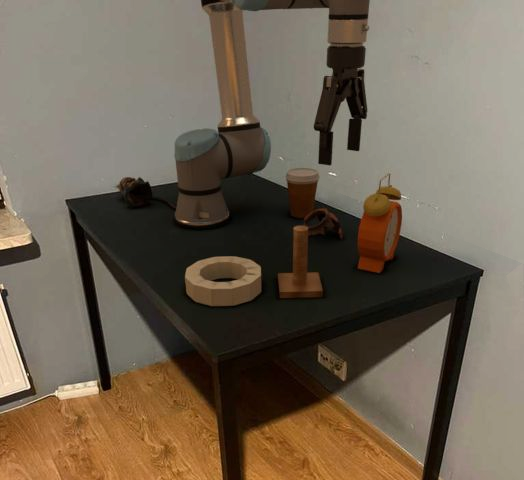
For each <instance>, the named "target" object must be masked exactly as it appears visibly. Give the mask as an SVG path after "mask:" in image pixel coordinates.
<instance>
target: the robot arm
mask: <svg viewBox="0 0 524 480" xmlns="http://www.w3.org/2000/svg"><path fill="white" fill-rule="evenodd" d="M370 1H371V0H200V4H201V10H202V11H203V12H204V13H205V14H207V16H208V21H209V27H210V28H209V29H210V35H211V43H212V50H213V58H214V59H213V60H214V65H215V66H214V67H215V74H216V81H217V82H216V83H217V89H218V98H219V106H220V113H221V114H220V115H221V120H220V121H219V123H218V124H217V127H216V128H217V130H216V129H214V128H201V129H200V128H199V129H197V128H196V129H193V130H188V131H186V132H184V133H181V134H180V135H178V136H177V138H176V139H175V141H174V159H175V168H176V178H177V179H176V180H177V186H178V197H177V202H176V205H174V204H173V203H172V202H170V200H168V199H166V198H163V197H160V196H159V197H158V196H152V198H151V199H150V200H157V201H161V202H164V203H166V204H167V205H168V206H170V208H172V209H174V210H175V212H174V222H175V224H176V225H177V226H179V227H182V228H185V229H190V230H207V229H214V228H218V227H220V226H223V225H225V224H227V223H228V222H229V221H230V211H229V208H228V206H227V203H226V200H225V198H224V194H223V192H222V180H224V179H229V178H235V177H240V176H244V175H253V174H255V173H258V172H261V171H263V170H264V169H265V168H266V167H267V165H268V163H269V161H270V158H271V154H272V142H271V138H270V137H271V136H269V132H268V131H267V130H266V129H265V128H264V127H261V121H260V120H259V118H257V117H256V115H255V114H254V105H253V98H252V97H253V95H252V87H251V78H250V70H249V69H250V68H249V67H250V66H249V58H248V51H247V48H248V47H247V39H246V29H245V21H244V11H248V12H259V11H268V10H269V11H270V10H304V9H311V10H312V9H328V24H327V41H326V42H327V43H328V44H329V46H328V47H327V48H326V63H325V65H326V67H327V68H329V69H332V72H331V75H324V77H323V79H322V90H321V94H320V98H319V102H318V106H317V110H316V113H315V114H316V115H315V119H314V123H313V130H314V131H315V132H319V137H318V161H317V163H318V165H323V166H329V167H330V166H332V164H333V148H334V147H333V145H334V131H333V130H332V128H333V126H334V123H335V121H336V118H337V115H338V113H339V110H340V107H341V104H342V103H343V102H344V101H346V104H347V107H348V110H349V112H350V116H351V118H349V119H348V131H347V144H346V151H353V152H360V149H361V148H360V147H361V136H362V135H361V134H362V123H363V120H366V119H367V118H368V117H367V116H368V103H367V102H368V101H367V93H366V86H365V85H366V84H365V69H364V67H365V64H366V53H367V52H366V51H367V48H366V46H365V45H364V44H365V43H366V42H367V37H368V36H367V35H368V31H369V30H370V26H369V12H370V3H371V2H370ZM118 185H119V183H118V184H117V186H118Z"/></svg>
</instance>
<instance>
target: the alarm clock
mask: <svg viewBox="0 0 524 480" xmlns="http://www.w3.org/2000/svg"><path fill="white" fill-rule="evenodd" d="M387 177H388V181H387V182H388V183H387V186H382V185H381V184H382V181H383V180H385V178H387ZM390 183H391V173H386V175H385V176H383V177H382V178H380V180H379V183H378V189H377V190H376V192H375V193H373V194H370V195H369V196H368V197H366V199H365V200H364V202H363V206H362V208H363V209H362V210H363V213H362V216H361V218H360V223H359V226H358V233H357V252H358V256H359V260H358V265H357V269H359V270H363V271H368V272H373V273H377V274H381V272H382V271H383V270H384V267H385V263H386V262H387V261H392V260H393V259H394V257H395V255H394V252H395V250H396V248H397V244H398V242H399V239H400V235H401V231H402V229H401V228H402V225H403V224H402V223H403V210H402V205H401V203H399V202H397V201H400V200H402V193H401V191H400V190H399V189H397V188H395V187H393V185H392V184H390Z"/></svg>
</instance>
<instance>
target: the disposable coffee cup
mask: <svg viewBox="0 0 524 480" xmlns="http://www.w3.org/2000/svg"><path fill="white" fill-rule="evenodd" d="M284 177H285V179H286V184H287V192H288V202H289V211H290V212H289V213H290V216H292V217H294V218H297V219H302V218H303V219H305V217H306V216H307V215H308V214H310V213H311V212H313V211H314V208H315V202H316V196H317V195H316V194H317V189H318V183H319V180H320V177H321V176H320V174H319V171H318V170H317V169H315V168H309V167H295V168H291V169H288V170H287V171H286V175H285V176H284Z"/></svg>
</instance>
